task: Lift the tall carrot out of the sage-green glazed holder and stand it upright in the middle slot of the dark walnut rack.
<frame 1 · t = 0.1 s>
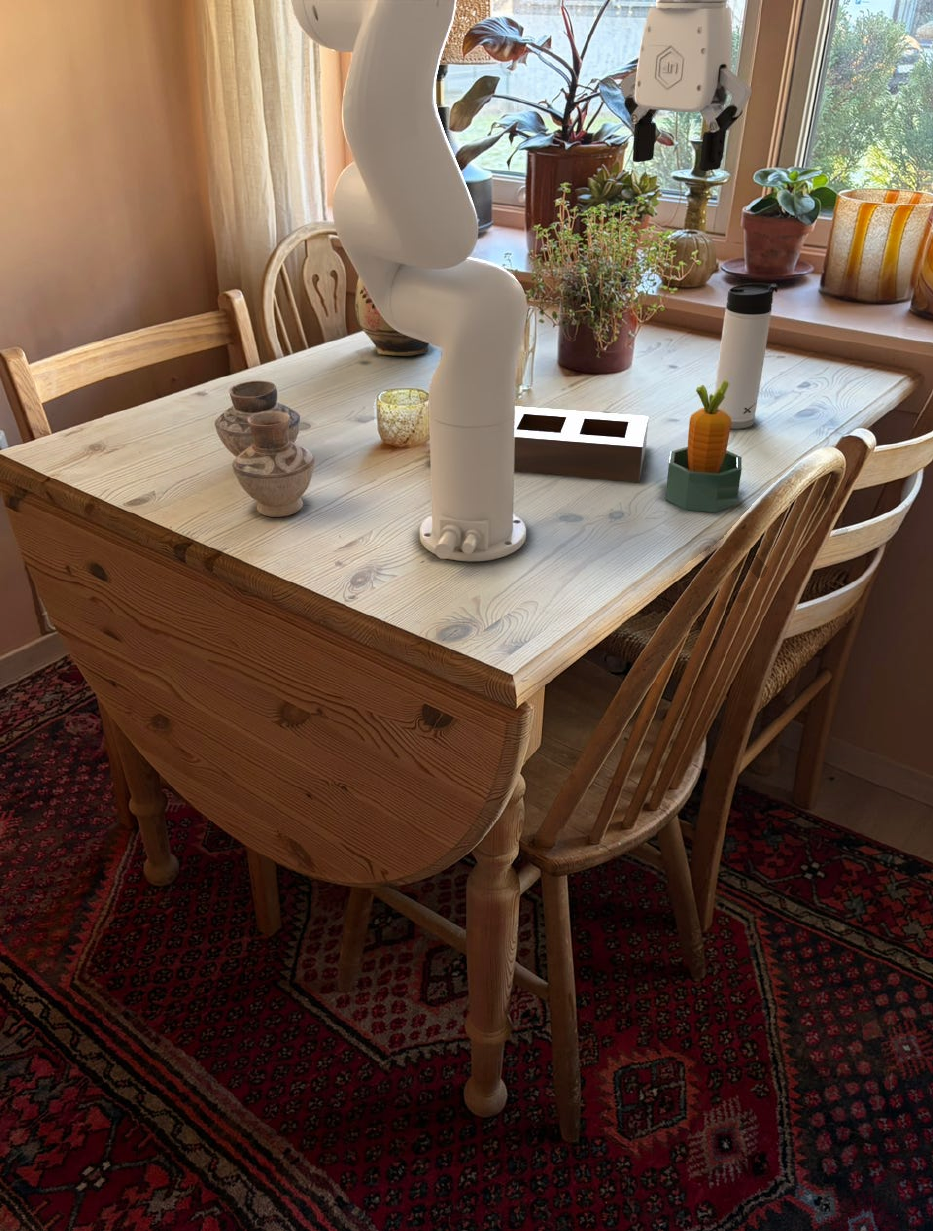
hand: (675, 165, 116), 37 cm above the table, tool pointing down, fingers open, 9 cm apart
carrot: (700, 497, 126), resting in holder
holder: (700, 496, 126), on the table
rack: (540, 457, 137), on the table
ceramic jug: (397, 351, 178), on the table
pottery: (271, 485, 130), on the table
travel mug: (733, 422, 147), on the table
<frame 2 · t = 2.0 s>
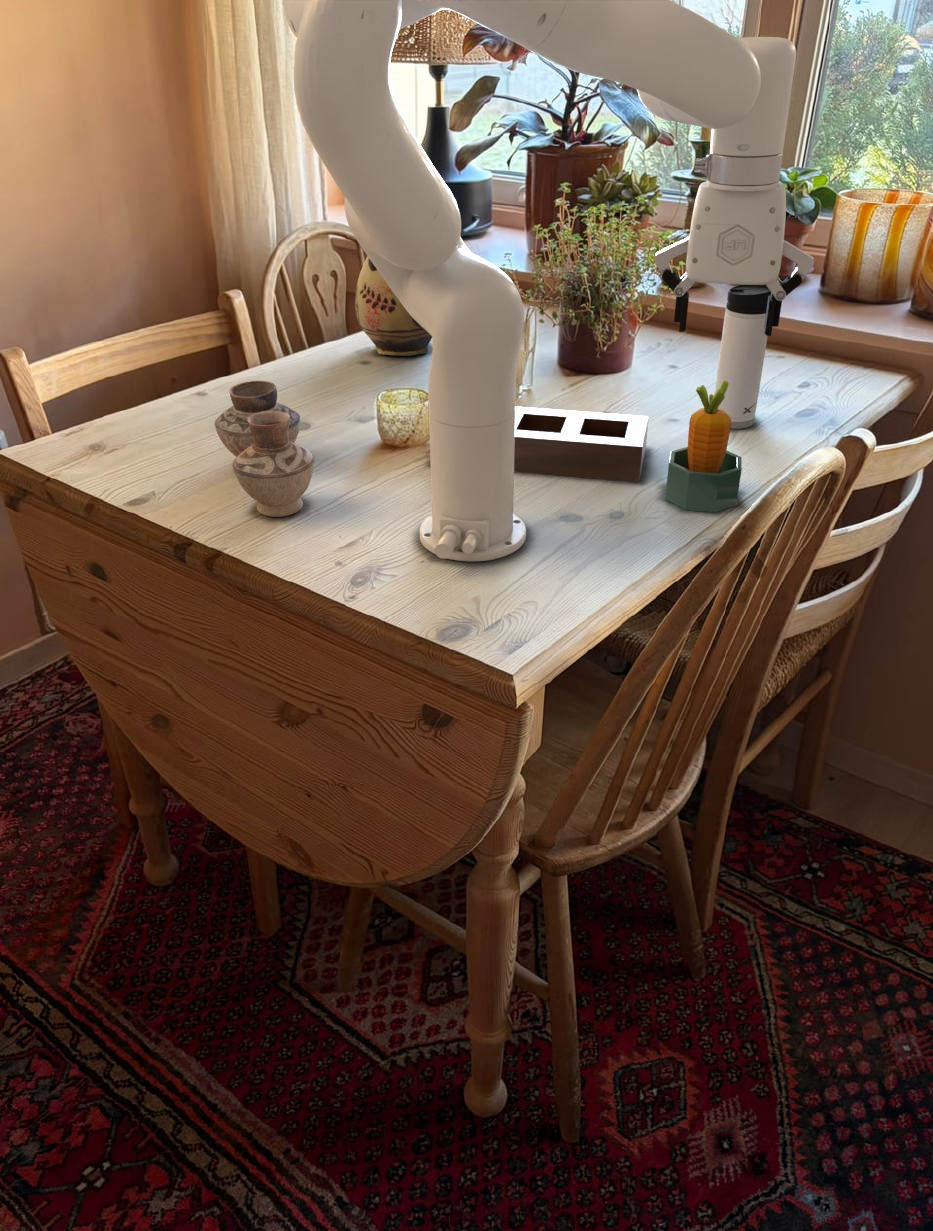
hand: (724, 330, 115), 21 cm above the table, tool pointing down, fingers open, 9 cm apart
nothing on the table moved.
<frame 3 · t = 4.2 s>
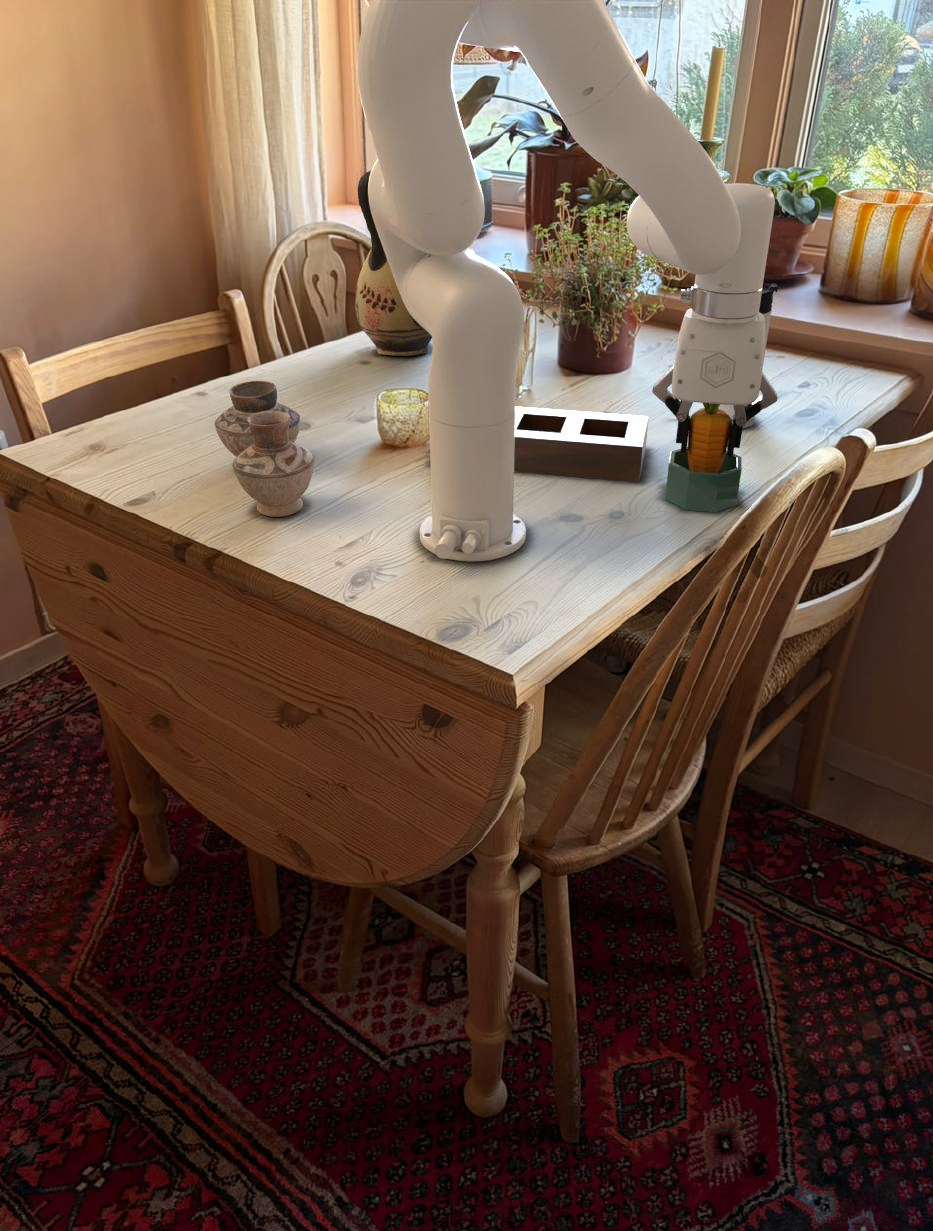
hand: (706, 449, 123), 6 cm above the table, tool pointing down, fingers closed on carrot, 5 cm apart
carrot: (700, 497, 126), resting in holder, touching gripper
everything else where it was.
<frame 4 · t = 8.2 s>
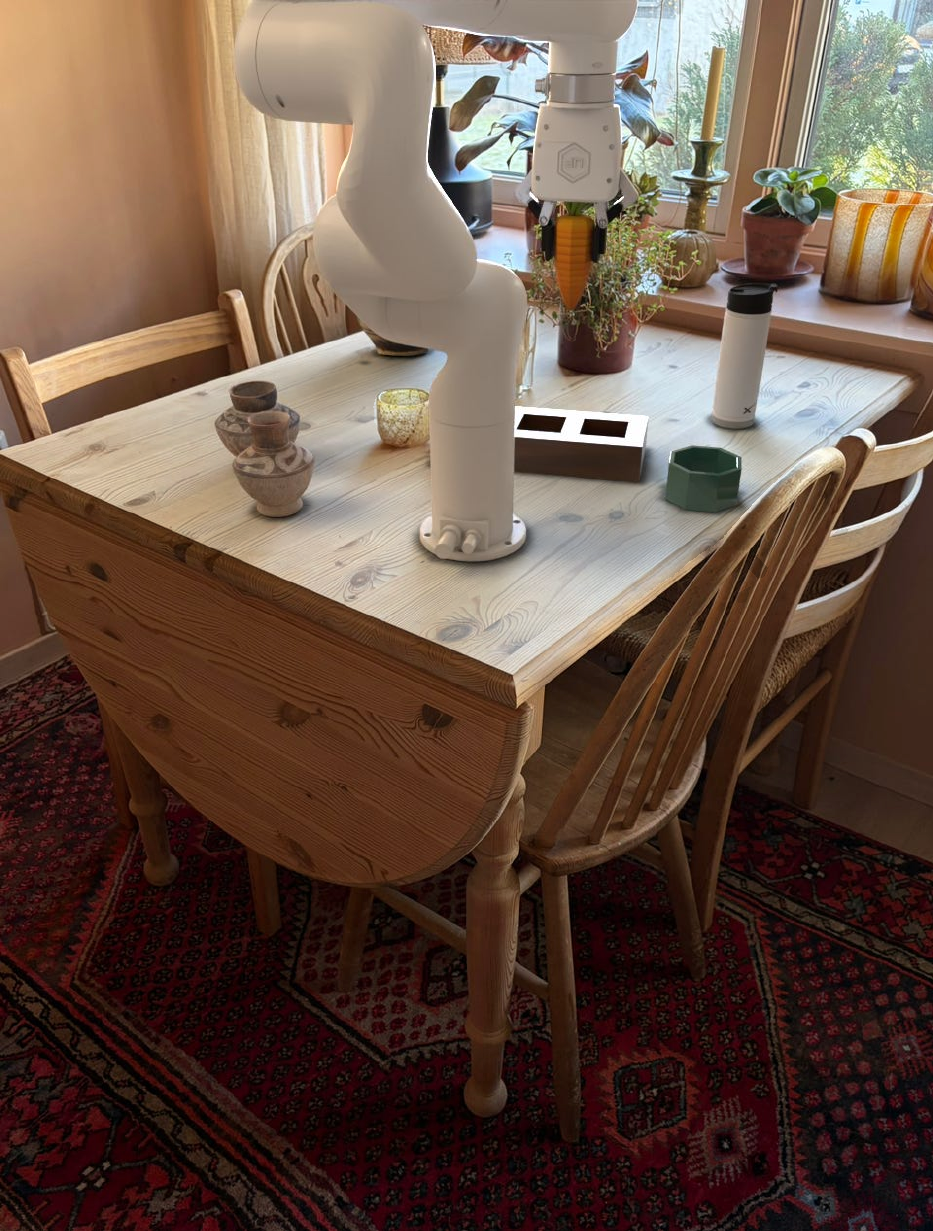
hand: (572, 257, 121), 27 cm above the table, tool pointing down, fingers closed on carrot, 5 cm apart
carrot: (570, 312, 124), point 20 cm above the table, touching gripper
everything else where it was.
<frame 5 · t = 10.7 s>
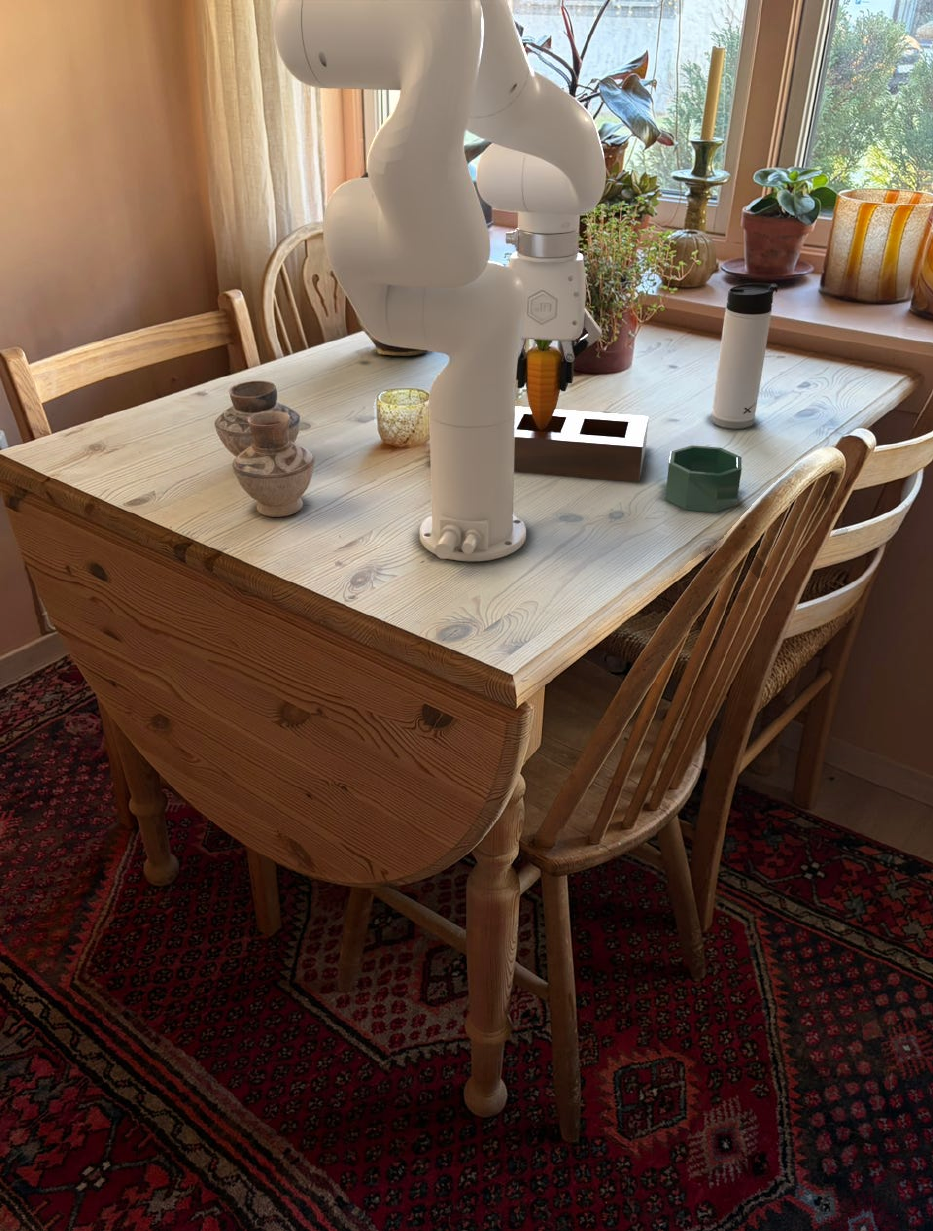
hand: (543, 385, 131), 10 cm above the table, tool pointing down, fingers closed on carrot, 5 cm apart
carrot: (541, 431, 135), point 4 cm above the table, touching gripper
everything else where it was.
when the fingers open (6 cm above the table, at t = 12.3 s): carrot stays where it is, resting in rack.
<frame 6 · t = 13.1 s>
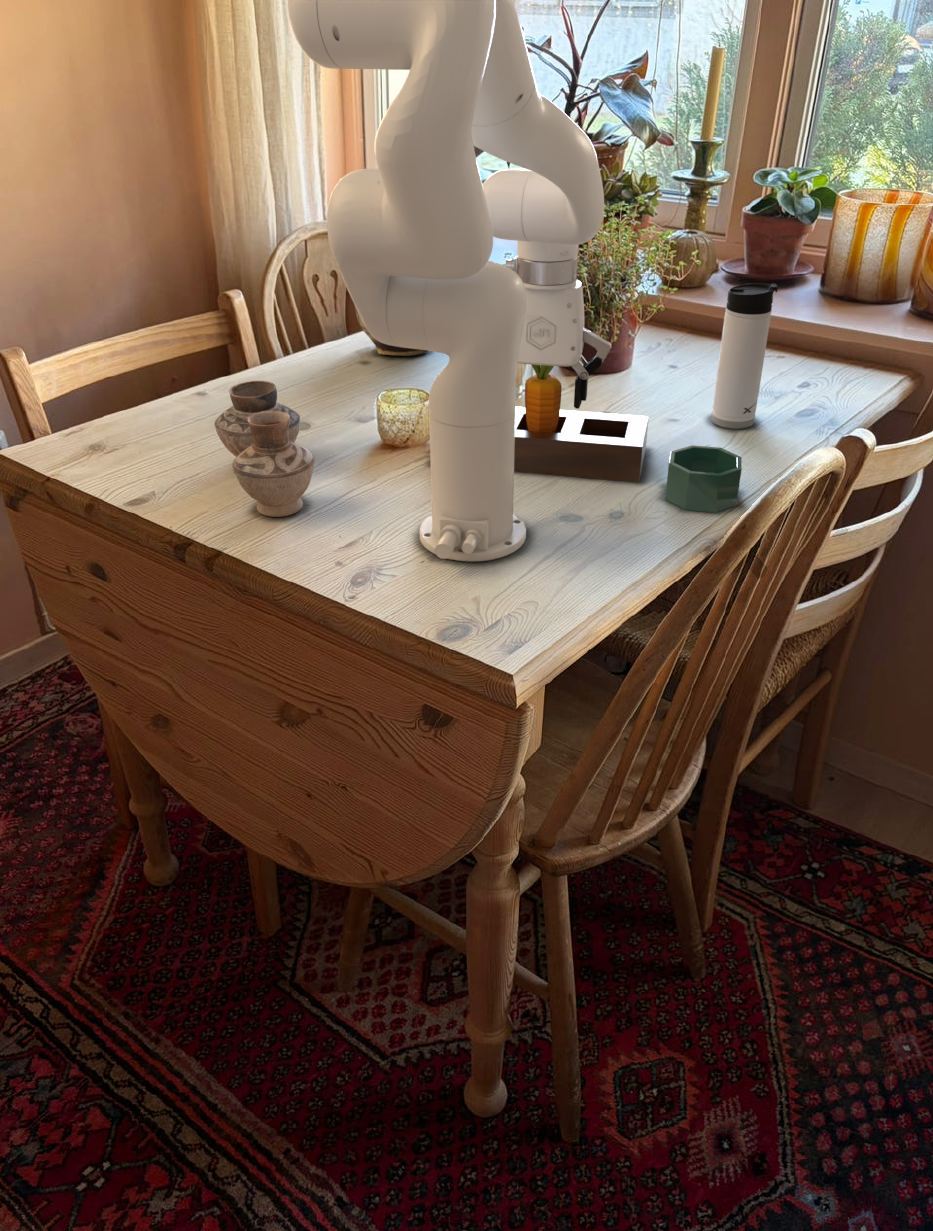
hand: (542, 402, 132), 8 cm above the table, tool pointing down, fingers open, 9 cm apart
carrot: (540, 457, 137), resting in rack
everything else where it was.
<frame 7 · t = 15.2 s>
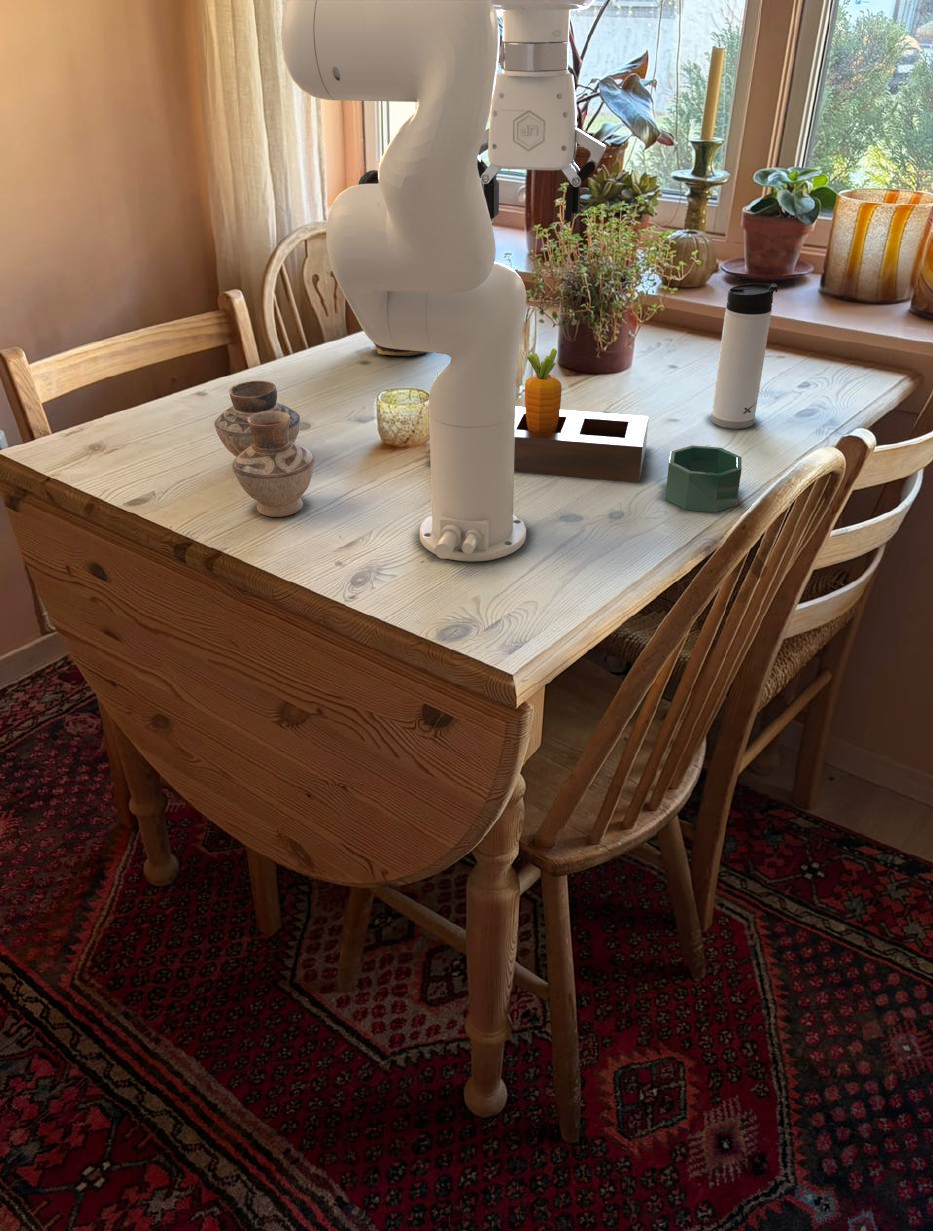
hand: (531, 218, 122), 31 cm above the table, tool pointing down, fingers open, 9 cm apart
nothing on the table moved.
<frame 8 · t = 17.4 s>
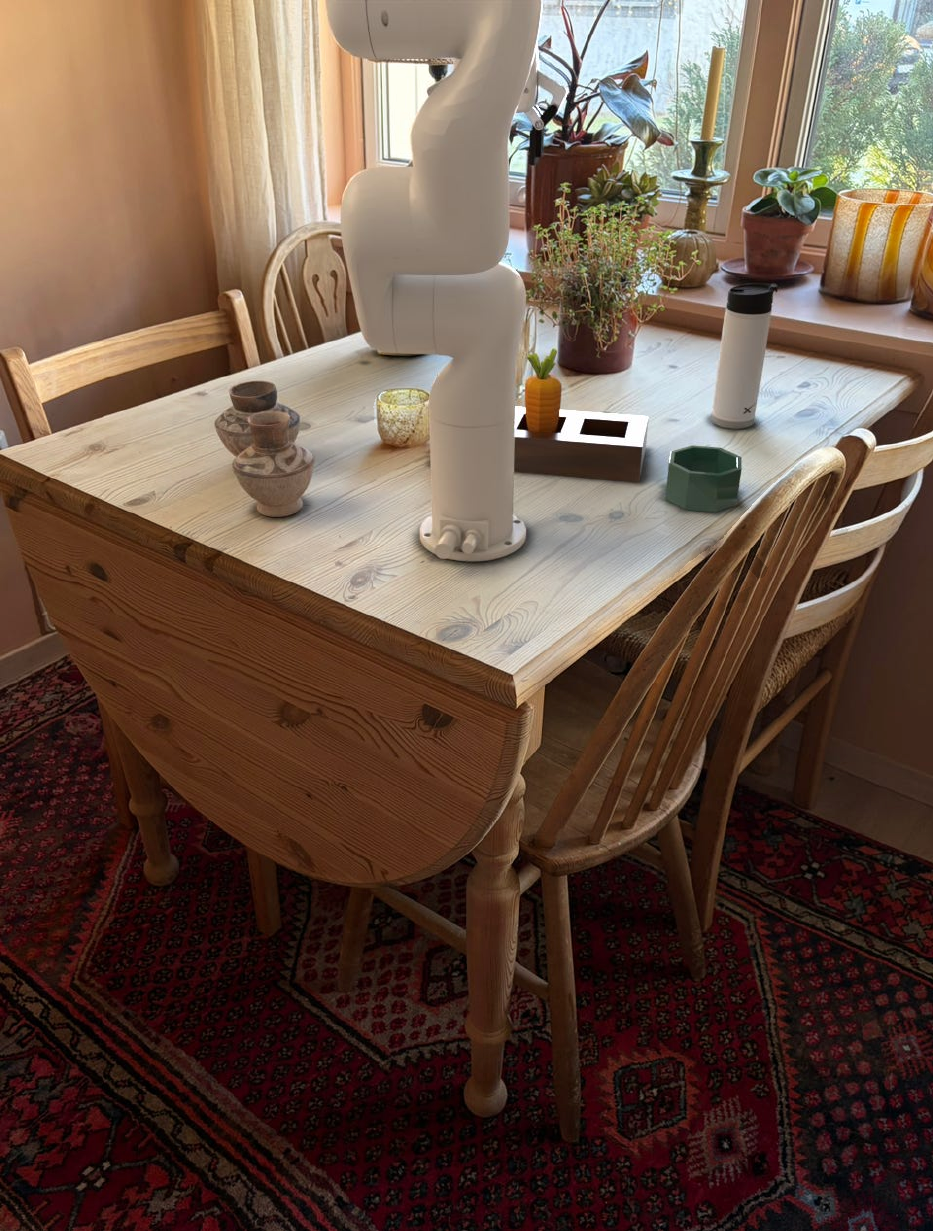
hand: (496, 163, 125), 36 cm above the table, tool pointing down, fingers open, 9 cm apart
nothing on the table moved.
at the end: carrot 0.3 cm off-centre in the rack, point 0.0 cm above the rack's base; carrot tilted 0°; the gripper is holding nothing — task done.
